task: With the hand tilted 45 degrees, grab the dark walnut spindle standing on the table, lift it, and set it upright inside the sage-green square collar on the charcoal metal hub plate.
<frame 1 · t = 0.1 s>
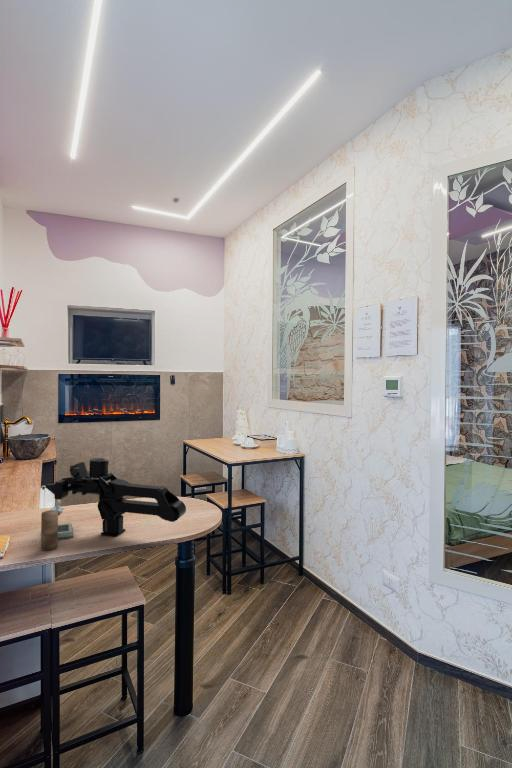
hand: (54, 482, 164), 16 cm above the table, tool horizontal, fingers open, 9 cm apart
pacifier: (54, 514, 178), on the table
hub plate: (58, 534, 156), on the table
spindle: (49, 548, 144), on the table
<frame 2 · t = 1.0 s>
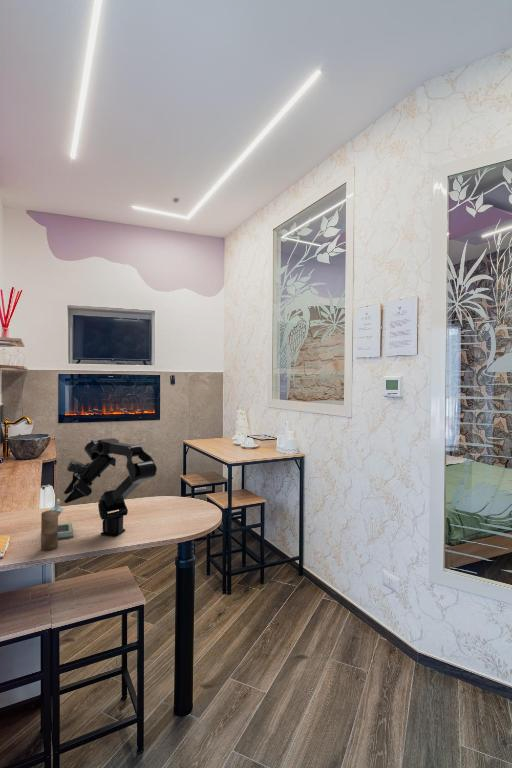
hand: (64, 497, 160), 12 cm above the table, tool tilted 45°, fingers open, 9 cm apart
nothing on the table moved.
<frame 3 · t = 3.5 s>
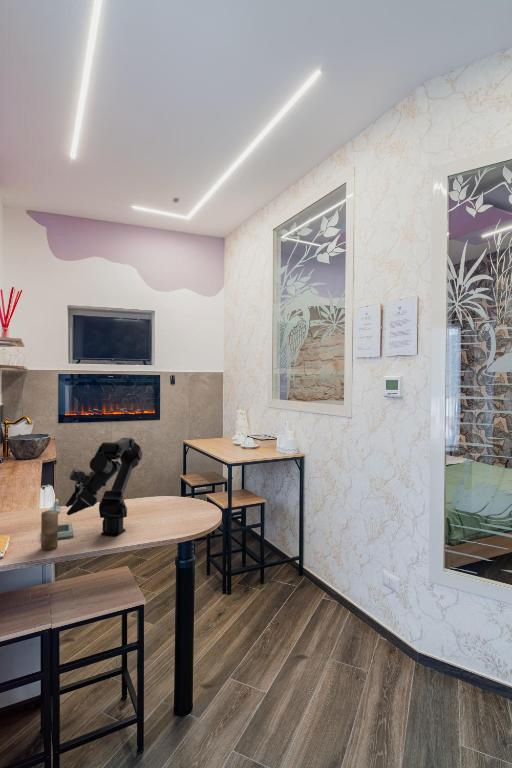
hand: (66, 510, 146), 12 cm above the table, tool tilted 45°, fingers open, 9 cm apart
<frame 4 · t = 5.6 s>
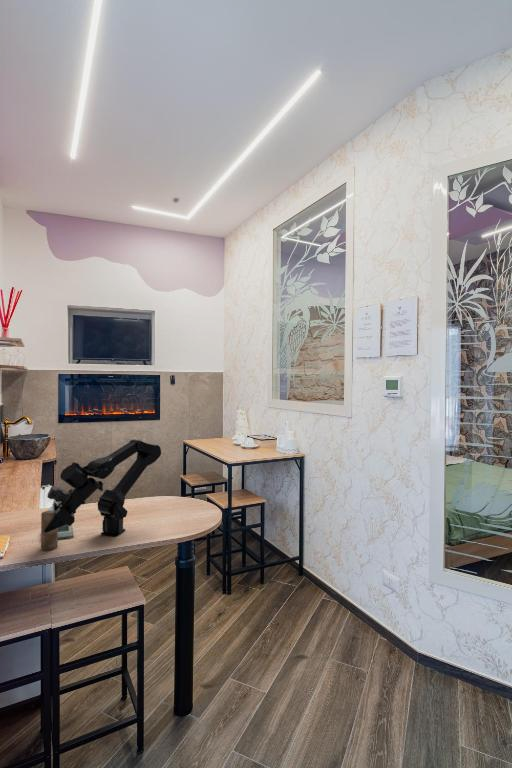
hand: (44, 529, 143), 7 cm above the table, tool tilted 45°, fingers closed on spindle, 5 cm apart
spindle: (49, 548, 144), on the table, touching gripper
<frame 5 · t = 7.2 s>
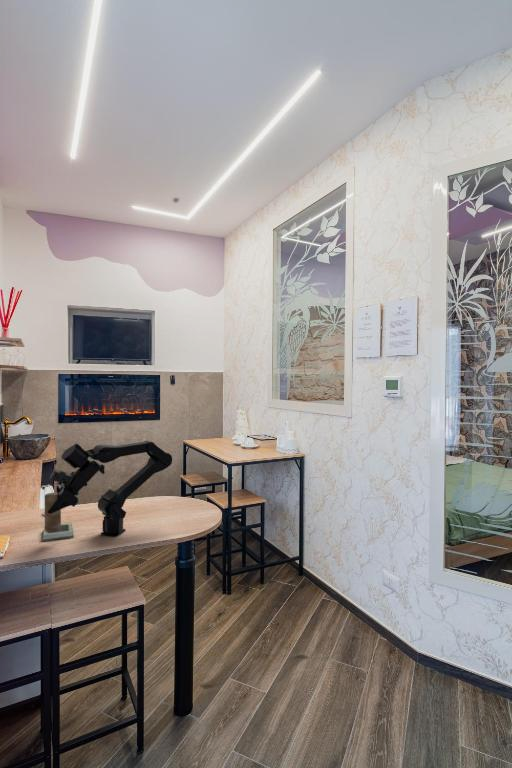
hand: (48, 510, 146), 12 cm above the table, tool tilted 45°, fingers closed on spindle, 5 cm apart
spindle: (52, 529, 147), point 5 cm above the table, touching gripper
when the fingers open (8 cm above the table, at t = 9.1 s): spindle drops 1 cm, resting on hub plate.
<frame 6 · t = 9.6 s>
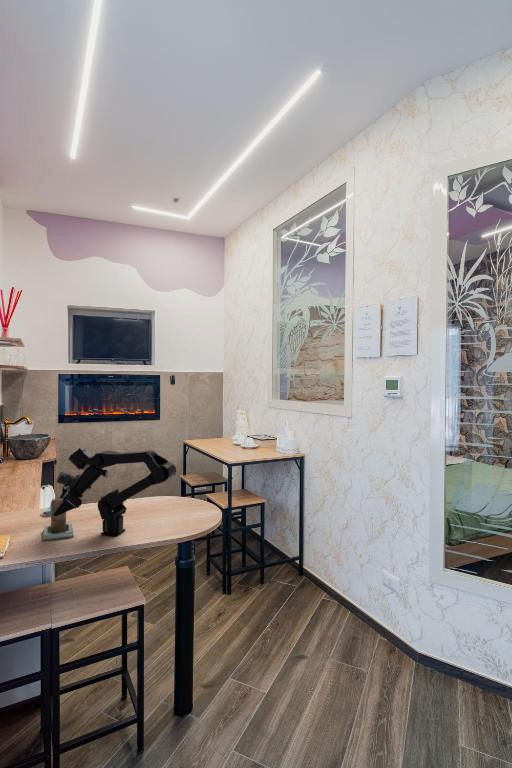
hand: (54, 511, 155), 9 cm above the table, tool tilted 45°, fingers open, 9 cm apart
spindle: (58, 532, 156), point 1 cm above the table, touching hub plate
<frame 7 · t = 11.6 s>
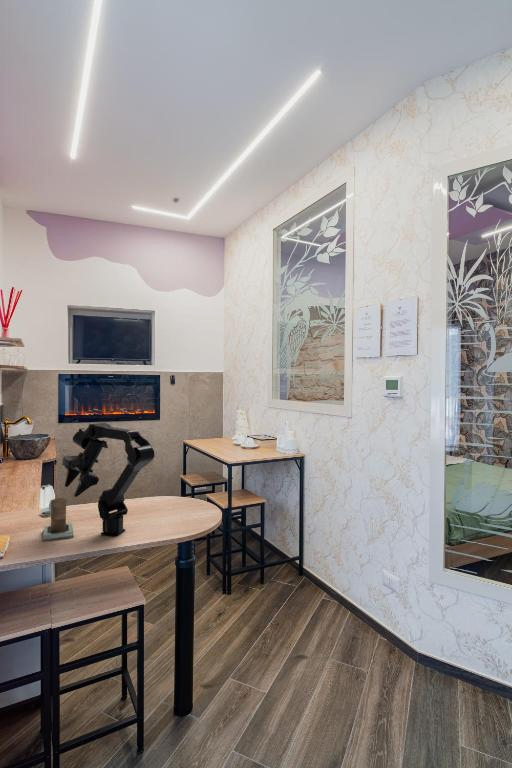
hand: (70, 491, 162), 14 cm above the table, tool tilted 25°, fingers open, 9 cm apart
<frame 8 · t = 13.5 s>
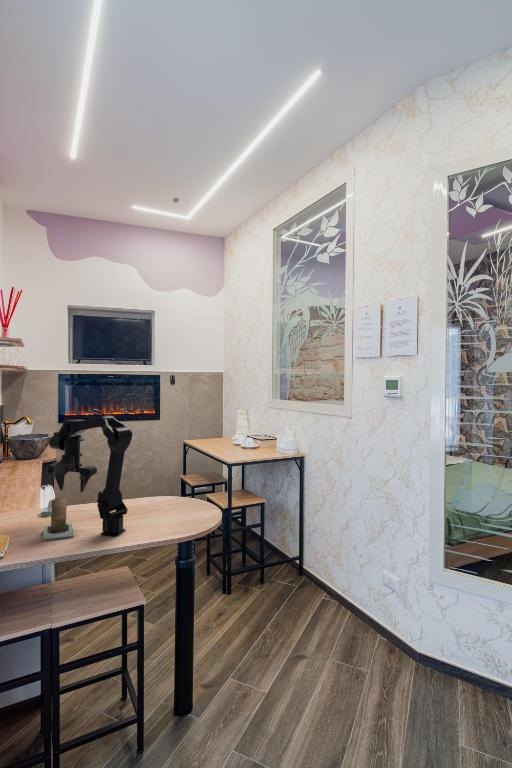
hand: (71, 491, 169), 12 cm above the table, tool pointing down, fingers open, 9 cm apart
at the end: spindle 0.1 cm off-centre on the hub plate, point 0.6 cm above the hub plate's base; spindle tilted 1°; the gripper is holding nothing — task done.
